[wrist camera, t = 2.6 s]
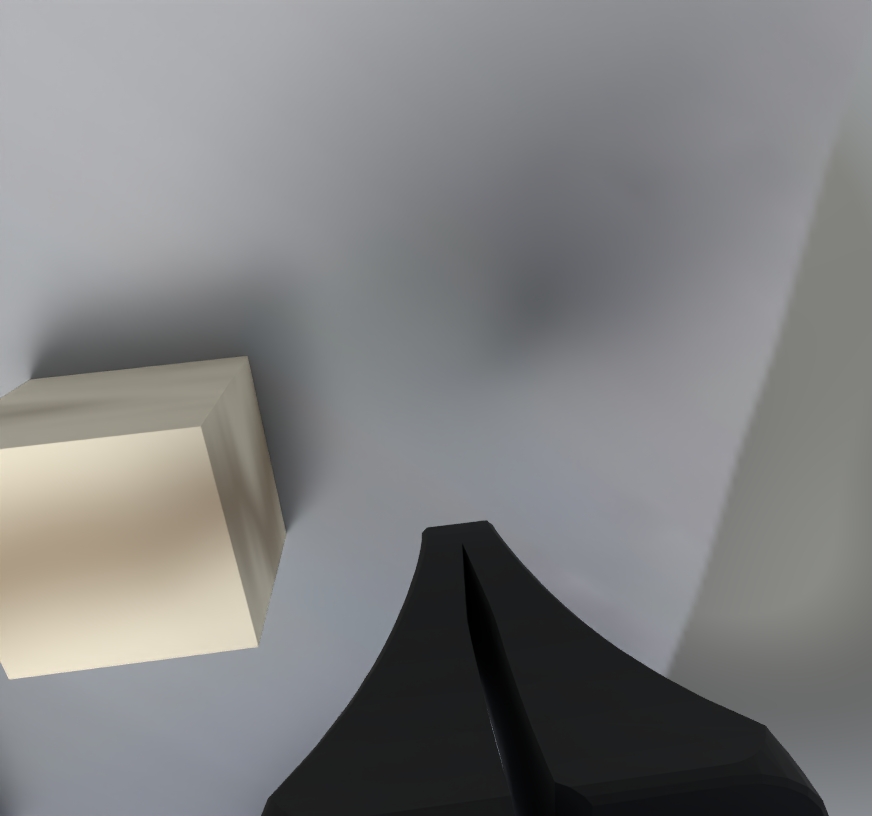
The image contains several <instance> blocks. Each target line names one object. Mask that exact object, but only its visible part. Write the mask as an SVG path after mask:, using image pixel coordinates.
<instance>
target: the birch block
mask: <svg viewBox="0 0 872 816" xmlns="http://www.w3.org/2000/svg"><path fill="white" fill-rule="evenodd" d="M285 538H286V530H285V525H284V520H283V516H282V511H281V507H280V502H279V498H278V493H277V488H276V484H275V479H274V475H273V470H272V465H271V461H270V456H269V452H268V447H267V443H266V438H265V433H264V429H263V424H262V420H261V415H260V410H259V406H258V401H257V397H256V392H255V387H254V383H253V378H252V374H251V369H250V365H249V360H248V356H241V357H232V358H222V359H213V360H204V361H195V362H186V363H176V364H167V365H158V366H149V367H140V368H131V369H121V370H112V371H103V372H94V373H85V374H75V375H66V376H57V377H48V378H39V379H30V380H28V381H27V382H25V383H24V384H22V385H21V386H19V387H17V388H16V389H14V390H13V391H11V392H10V393H8V394H6V395H5V396H3V397H2V398H0V662H1V664H2V666H3V668H4V670H5V672H6V674H7V676H8V678H9V679H16V678H24V677H32V676H39V675H47V674H55V673H62V672H70V671H78V670H85V669H93V668H101V667H108V666H116V665H124V664H131V663H139V662H147V661H154V660H162V659H170V658H177V657H185V656H193V655H200V654H208V653H216V652H223V651H231V650H239V649H246V648H254V647H259V643H260V639H261V635H262V631H263V627H264V623H265V619H266V614H267V610H268V606H269V602H270V598H271V594H272V590H273V586H274V582H275V578H276V574H277V570H278V566H279V562H280V558H281V554H282V550H283V546H284V542H285Z"/></svg>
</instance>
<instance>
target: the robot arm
mask: <svg viewBox="0 0 872 816" xmlns="http://www.w3.org/2000/svg"><path fill="white" fill-rule="evenodd" d="M487 709H488V710H487ZM488 713H489V714H488ZM489 717H490V718H489ZM490 720H491V722H490ZM491 724H492V726H491ZM492 727H493V730H492ZM493 731H494V734H493ZM494 735H495V737H494ZM495 738H496V741H495ZM496 742H497V745H498V748H497V745H496ZM498 749H499V752H498ZM499 753H500V756H499ZM500 757H501V759H500ZM501 761H502V763H501ZM502 765H503V767H502ZM503 769H504V770H503ZM261 816H829V815H828V813H827V810H826V808H825V805H824V803H823V800H822V799H821V798H820V796H819V794H818V793H817V791H816V790H815V789H814V787H813V786H812V784H811V783H810V781H809V780H808V779H807V777H806V775H805V774H804V773H803V771H802V770H801V769H800V767H799V766H798V765H797V764H796V762H795V761H794V760H793V758H792V757H791V756H790V754H789V753H788V752H787V751H786V750H785V749H784V748H783V746H782V745H781V744H780V743H779V741H777V739H776V738H775V737H774V736H773V734H772V733H771V732H770V731H769V729H768V728H767V727H766V726H765V725H763V724H760V723H758V722H756V721H754V720H752V719H750V718H747V717H745V716H743V715H741V714H738V713H736V712H734V711H732V710H729V709H727V708H725V707H723V706H720V705H718V704H716V703H714V702H712V701H709V700H707V699H705V698H703V697H701V696H699V695H697V694H695V693H693V692H691V691H689V690H688V689H686V688H684V687H682V686H680V685H678V684H677V683H675V682H673V681H671V680H669V679H667V678H665V677H664V676H662V675H660V674H659V673H657V672H655V671H653V670H652V669H650V668H649V667H647V666H645V665H644V664H642V663H641V662H639V661H637V660H636V659H634V658H633V657H631V656H630V655H628V654H626V653H625V652H623V651H622V650H620V649H619V648H617V647H616V646H614V645H613V644H612V643H610V642H609V641H607V640H606V639H605V638H603V637H602V636H601V635H599V634H598V633H597V632H595V631H594V630H593V629H592V628H590V627H589V626H588V625H586V624H585V623H584V622H583V621H582V620H580V619H579V618H578V617H577V616H576V615H574V614H573V613H572V612H571V611H570V610H569V609H568V608H566V607H565V606H564V605H563V604H562V603H561V602H560V601H559V600H558V599H557V598H556V597H555V596H554V595H552V594H551V593H550V592H549V591H548V590H547V589H546V588H545V587H544V586H543V585H542V584H541V583H540V582H539V581H538V579H537V578H536V577H535V576H534V575H533V574H532V573H531V572H530V571H529V570H528V569H527V568H526V567H525V566H524V565H523V563H522V562H521V561H520V560H519V559H518V558H517V557H516V555H515V554H514V553H513V552H512V551H511V549H510V548H509V547H508V546H507V544H506V543H505V542H504V541H503V539H502V538H501V537H500V535H499V534H498V533H497V531H496V530H495V528H494V527H493V525H492V524H491V523H489V522H488V521H487V520H486V521H477V522H469V523H461V524H453V525H445V526H437V527H428V528H426V529H425V530H424V531H423V533H422V543H421V550H420V555H419V559H418V563H417V566H416V570H415V573H414V576H413V579H412V582H411V585H410V588H409V591H408V594H407V597H406V599H405V602H404V604H403V606H402V609H401V611H400V613H399V616H398V618H397V620H396V623H395V625H394V627H393V629H392V631H391V633H390V635H389V637H388V639H387V641H386V643H385V645H384V647H383V649H382V651H381V653H380V654H379V656H378V658H377V660H376V662H375V663H374V665H373V667H372V669H371V670H370V672H369V673H368V675H367V676H366V678H365V680H364V681H363V683H362V684H361V686H360V688H359V689H358V691H357V692H356V694H355V695H354V697H353V698H352V700H351V701H350V702H349V704H348V705H347V707H346V708H345V709H344V711H343V712H342V713H341V715H340V716H339V717H338V719H337V720H336V721H335V722H334V724H333V725H332V726H331V728H330V729H329V730H328V731H327V733H326V734H325V735H324V737H323V738H322V739H321V740H320V742H319V743H318V744H317V745H316V747H315V748H314V749H313V750H312V751H311V753H310V754H309V755H308V756H307V757H306V758H305V759H304V760H303V761H302V763H301V764H300V765H299V766H298V767H297V768H296V769H295V770H294V771H293V772H292V773H291V774H290V776H289V777H288V778H287V779H286V780H285V781H284V782H283V783H282V784H281V785H280V786H279V787H278V789H277V790H276V791H275V792H274V793H273V794H272V795H271V796H270V797H269V798H268V800H267V802H266V805H265V807H264V810H263V812H262V815H261Z"/></svg>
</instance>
